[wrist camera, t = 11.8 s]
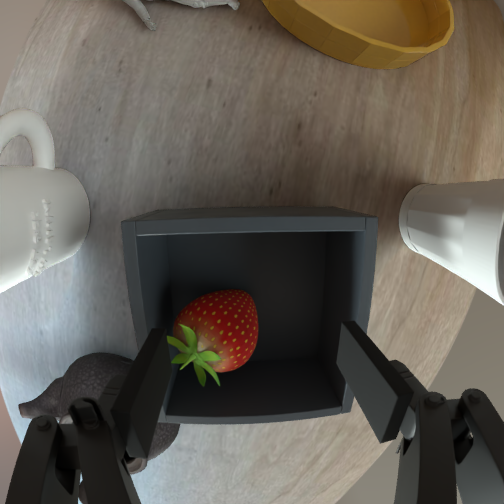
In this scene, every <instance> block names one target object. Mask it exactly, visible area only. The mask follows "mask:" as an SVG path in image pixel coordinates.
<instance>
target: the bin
mask: <svg viewBox="0 0 504 504" xmlns="http://www.w3.org/2000/svg"><path fill="white" fill-rule="evenodd" d="M121 228H122V240H123V251H124V261H125V269H126V278H127V285H128V292H129V299H130V306H131V312H132V318H133V324H134V329H135V334H136V340H137V345H138V350H139V351H140V350H141V348H142V346H143V344H144V342H145V340H146V338H147V336H148V335H149V333H150V331H151V329H152V328H166V334H167V336H171V337H173V327H174V322H175V319H176V318H177V316H178V314H179V313H180V311H181V310H182V309H183V308H184V307H185V306H187V305H188V304H189V303H190V302H192V301H193V300H195V299H196V298H198V297H200V296H202V295H205V294H208V293H211V292H215V291H221V290H228V289H240V290H243V291H245V292H247V293H248V294H249V295H250V296H251V297H252V299H253V301H254V304H255V306H256V311H257V316H258V338H257V343H256V346H255V349H254V351H253V353H252V355H251V357H250V358H249V360H248V361H247V362H246V363H245V364H243V365H242V366H240V367H239V368H237V369H235V370H232V371H227V372H216V374H217V376H218V379H219V383H220V386H219V385H218V383H217V381H216V380H215V379H214V377H213V376H212V375H211V374H210V373H209V372H208V371H207V370H206V369H204V368H203V370H204V372H205V375H206V381H205V385H204V387H203V386H202V385H201V384H200V382H199V380H198V377H197V374H196V372H195V369H194V363H193V362H192V361H191V362H189V363H188V364H187V365H186V366H185V367H184V368H182V369H181V370H180V368H181V366H182V365H183V364H184V363H181V364H176V363H171V365H172V374H171V377H170V381H169V384H168V387H167V391H166V394H165V398H164V401H163V404H162V408H161V411H160V415H159V418H158V422H166V423H167V422H168V423H183V424H255V423H271V422H283V421H293V420H302V419H311V418H318V417H325V416H331V415H338V414H340V413H341V414H343V413H348V412H350V411H351V407H352V403H353V399H354V394H353V393H352V391H351V389H350V387H349V385H348V384H347V382H346V380H345V378H344V376H343V375H342V373H341V371H340V369H339V367H338V366H337V364H336V362H337V355H338V348H339V340H340V333H341V324H342V322H344V321H354V320H355V322H356V323H357V324H358V325H359V326H360V327H361V329H362V330H363V331H364V332H365V333H366V334H367V328H368V321H369V314H370V307H371V299H372V291H373V282H374V272H375V261H376V248H377V232H378V217H377V216H373V215H368V214H364V213H360V212H355V211H351V210H346V209H342V208H337V207H305V206H280V207H220V208H190V209H168V210H156V211H153V212H149V213H146V214H143V215H140V216H137V217H134V218H130V219H127V220H124V221H122V222H121ZM168 347H169V353H170V359H171V361H172V360H173V359H174V357H175V356H176V355H178V354H180V353H181V352H180V351H179V350H178V348H177V347H175V346H173V345H171V344H169V343H168Z"/></svg>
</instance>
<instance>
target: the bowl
mask: <svg viewBox="0 0 504 504" xmlns="http://www.w3.org/2000/svg"><path fill="white" fill-rule="evenodd" d="M262 2H263V4H264V5H265V7H266V8H267V10H268V11H269V12H270V14H271V15H272V16H273V17H274V18H275V19H276V20H277V21H278V22H279V23H280V24H281V25H282V26H283V27H284V28H285V29H287V30H288V31H289V32H290V33H291V34H293V35H294V36H296V37H297V38H298V39H300V40H301V41H303V42H304V43H306V44H308V45H309V46H311V47H312V48H314V49H316V50H318V51H320V52H322V53H324V54H326V55H328V56H331V57H333V58H336V59H338V60H341V61H344V62H347V63H350V64H353V65H357V66H361V67H366V68H373V69H397V68H401V67H406V66H408V65H410V64H412V63H414V62H416V61H418V60H420V59H421V58H423V57H425V56H427V55H428V54H430V53H432V52H434V51H435V50H437V49H439V48H441V47H443V46H444V45H446V44H447V42H448V40H449V38H450V37H451V35H452V33H453V31H454V12H453V8H452V6H451V3H450V1H449V0H262Z"/></svg>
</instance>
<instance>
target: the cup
mask: <svg viewBox="0 0 504 504" xmlns="http://www.w3.org/2000/svg"><path fill="white" fill-rule="evenodd" d="M399 228H400V232H401V236H402V238H403V240H404V242H405V243H406V245H407V246H408V247H409V248H410V249H411V250H413V251H415V252H417V253H419V254H422V255H424V256H426V257H428V258H429V259H431V260H433V261H435V262H436V263H438V264H440V265H442V266H443V267H445V268H447V269H448V270H450V271H452V272H453V273H455V274H457V275H458V276H460V277H462V278H463V279H465V280H467V281H468V282H470V283H471V284H473V285H475V286H476V287H477V288H479V289H480V290H482V291H483V292H485V293H486V294H488V295H489V296H491V297H492V298H494V299H495V300H497V301H498V302H500V303H501V304H502V305H504V179H493V180H489V181H477V182H462V183H448V184H420V185H417V186H415V187H414V188H413V189H411V190H410V191H409V192H408V194H407V195H406V196H405V198H404V200H403V202H402V205H401V208H400V213H399Z"/></svg>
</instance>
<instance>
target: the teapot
mask: <svg viewBox="0 0 504 504" xmlns="http://www.w3.org/2000/svg"><path fill="white" fill-rule="evenodd" d="M133 363H134V361H133V360H131V359H128V358H125V357H122V356H119V355H114V354H108V353H92V354H88V355H85V356H83V357H80V358H78V359H77V360H76V361H74V362H73V363H72V364H71V365H70V366H69V368H68V369H67V371H66V372H65V374H64V376H63V377H60V378H57V379H55V380H54V381H53V382H52V383H51V384H50V385H49V387H48V388H47V389H46V390H45V391H44V392H43V393H42V394H41V395H39V396H38V397H37V398H35V399H34V400H32V401H29V402H26V403H22V404H19V405H18V406H19V411H20V414H21V416H22V418H30V419H33V418H35V417H36V416H39V415H41V414H48V415H52V416H53V417H55V418H56V420H58V421H59V424H69V423H73V421H72V419H71V416H70V414H69V412H68V410H67V409H68V405H69V404H70V403H71V401H73V400H75V399H76V398H79V397H85V396H89V397H93V398H95V399H97V400H98V399H99V397H100V395H101V394H102V391H103V390H104V388H105V386H106V384H107V383H108V381H109V379H111V378H112V377H113V376H115V375H116V374H124V375H127V374H128V373H129V371H130V369H131V367H132V365H133ZM179 427H180V423H168V422H167V423H166V422H157V426H156V429H155V433H154V437H153V440H152V444H151V448H150V451H149V455H148V459H141V458H134V457H129V454H128V452H127V450H125V453H124V456H123V457H124V459H125V461H126V464H127V467H128V470H129V473H130V474H136V473H138V472H141V471H142V470H144V469H145V467H146V466H147V461H149V460H151V459H153V458H156V457H157V456H158V455H160V454H161V453H162V452H164V451H165V450H166V449H167V448H168V447H169V446H170V445H171V444H172V442H173V441H174V440H175V438H176V436H177V434H178V431H179ZM78 497H79V500H80V501H81V503H82V504H88V502H87V498H86V494H85V489H84V484H83V480H82V482H81V483H80V485H79V496H78Z"/></svg>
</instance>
